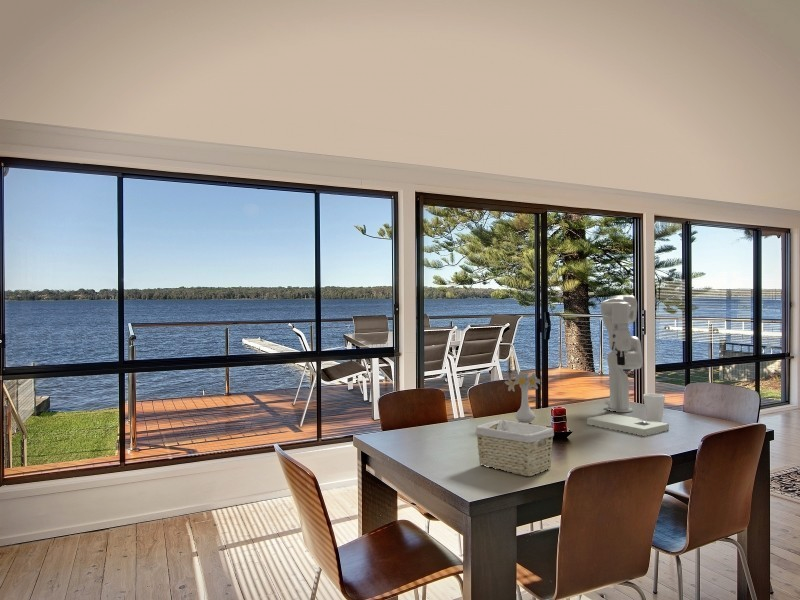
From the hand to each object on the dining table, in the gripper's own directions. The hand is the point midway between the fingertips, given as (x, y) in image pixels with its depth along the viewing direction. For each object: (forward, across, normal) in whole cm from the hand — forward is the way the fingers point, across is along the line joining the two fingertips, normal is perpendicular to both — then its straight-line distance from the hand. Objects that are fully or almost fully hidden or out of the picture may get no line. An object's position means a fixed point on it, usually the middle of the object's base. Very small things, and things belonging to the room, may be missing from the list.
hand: (621, 364), depth 274 cm
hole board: (+27, -12, -11) cm, 32 cm away
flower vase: (+27, -42, +24) cm, 56 cm away
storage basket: (+28, -97, -26) cm, 104 cm away
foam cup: (+27, +8, -12) cm, 31 cm away
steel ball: (+25, -11, -19) cm, 34 cm away
